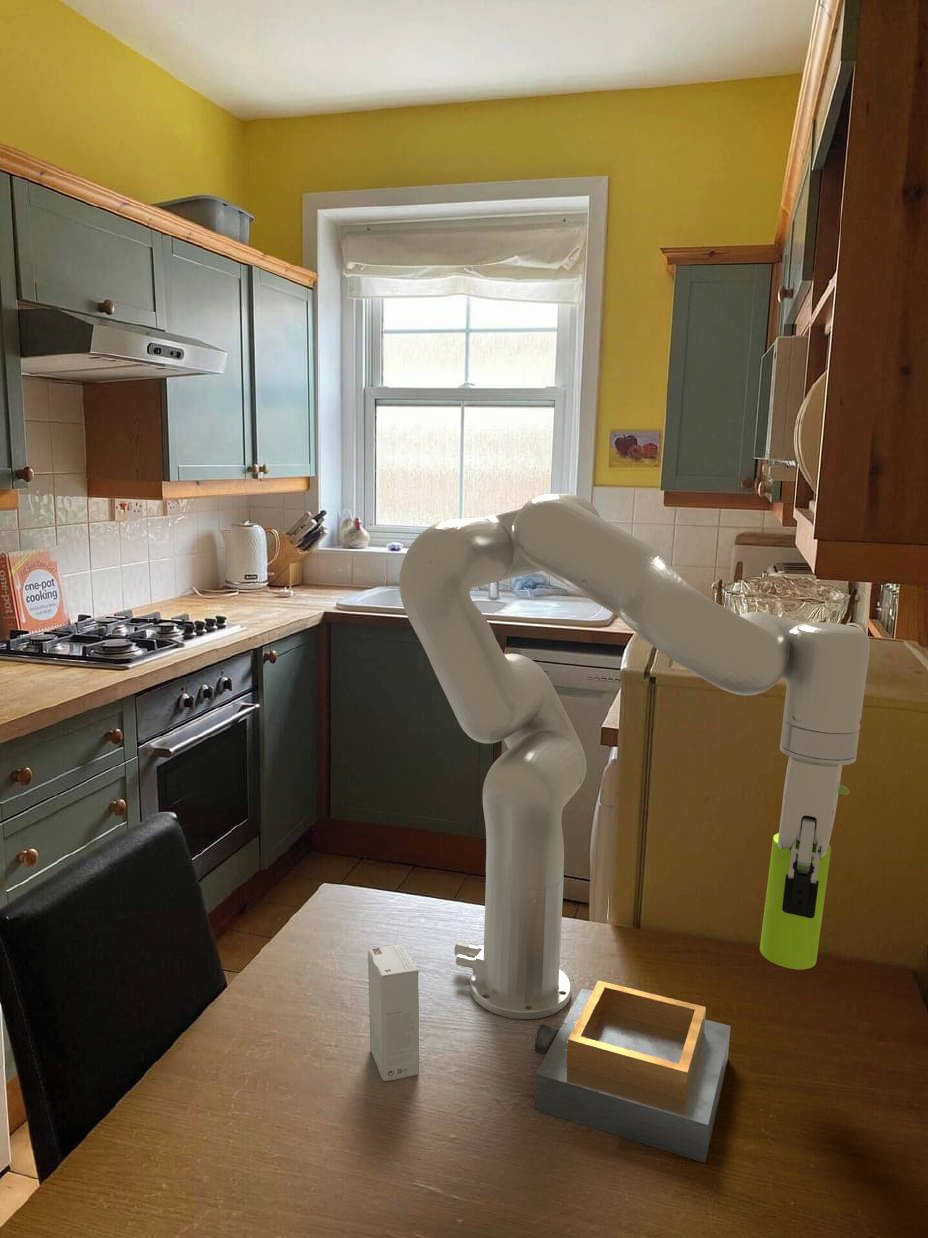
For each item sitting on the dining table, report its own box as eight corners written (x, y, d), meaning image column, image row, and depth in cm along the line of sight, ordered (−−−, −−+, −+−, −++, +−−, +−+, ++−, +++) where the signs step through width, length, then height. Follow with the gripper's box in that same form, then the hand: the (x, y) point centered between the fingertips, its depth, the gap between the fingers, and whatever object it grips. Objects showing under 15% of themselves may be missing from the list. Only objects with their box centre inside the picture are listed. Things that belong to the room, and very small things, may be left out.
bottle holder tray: (511, 1102, 91) (514, 1040, 90) (560, 1014, 107) (563, 960, 106) (705, 1163, 84) (710, 1096, 83) (727, 1058, 99) (732, 1001, 98)
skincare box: (420, 1075, 95) (423, 970, 93) (380, 1084, 94) (381, 977, 92) (404, 1041, 101) (406, 941, 99) (366, 1049, 99) (367, 948, 98)
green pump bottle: (831, 975, 94) (855, 794, 91) (763, 964, 95) (784, 786, 92) (820, 947, 100) (843, 776, 97) (756, 938, 101) (776, 768, 98)
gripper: (786, 716, 103) (769, 863, 106) (774, 757, 87) (755, 928, 90) (857, 726, 100) (837, 877, 103) (858, 770, 84) (835, 946, 87)
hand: (799, 899), depth 96 cm, fingers closed on green pump bottle, 5 cm apart
